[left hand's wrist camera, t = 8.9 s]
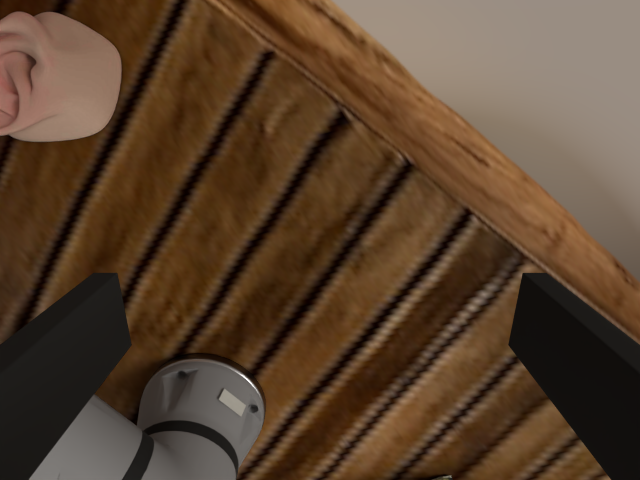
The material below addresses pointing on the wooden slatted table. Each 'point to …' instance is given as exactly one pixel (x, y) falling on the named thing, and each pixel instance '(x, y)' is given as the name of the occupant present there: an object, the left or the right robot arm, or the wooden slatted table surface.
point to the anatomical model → (55, 78)
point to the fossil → (443, 478)
